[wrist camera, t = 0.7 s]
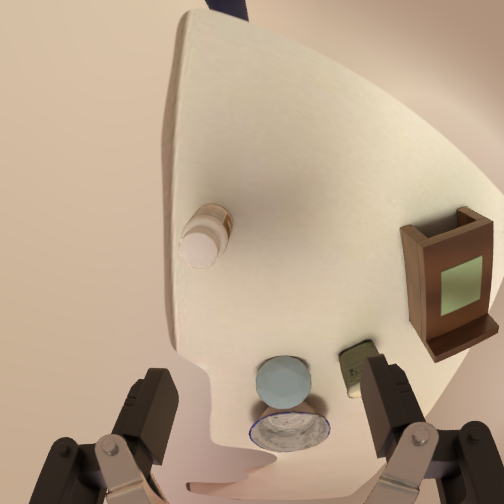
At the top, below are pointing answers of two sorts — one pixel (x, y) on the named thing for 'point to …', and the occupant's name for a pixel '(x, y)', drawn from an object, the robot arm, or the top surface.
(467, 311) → the shelf
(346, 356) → the beige rounded block
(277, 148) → the top surface
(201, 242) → the pill bottle
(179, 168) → the top surface
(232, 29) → the top surface
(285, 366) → the gemstone
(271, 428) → the bowl
